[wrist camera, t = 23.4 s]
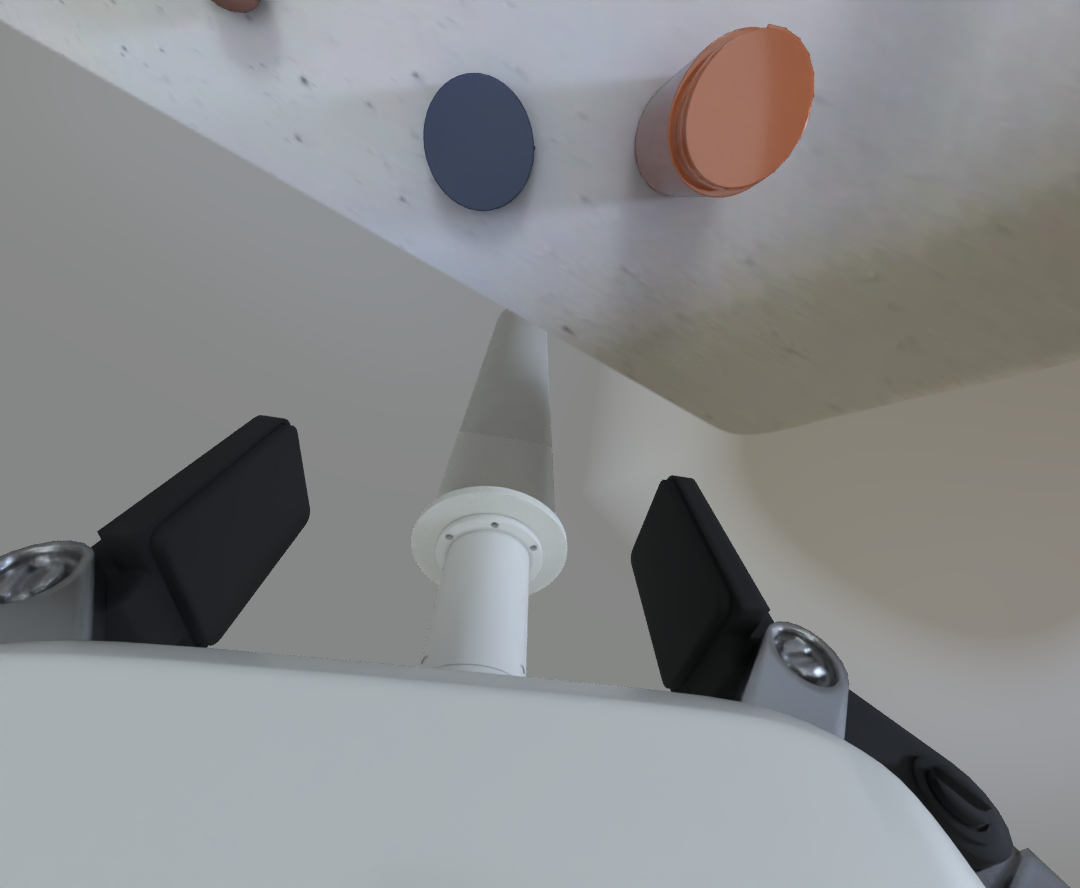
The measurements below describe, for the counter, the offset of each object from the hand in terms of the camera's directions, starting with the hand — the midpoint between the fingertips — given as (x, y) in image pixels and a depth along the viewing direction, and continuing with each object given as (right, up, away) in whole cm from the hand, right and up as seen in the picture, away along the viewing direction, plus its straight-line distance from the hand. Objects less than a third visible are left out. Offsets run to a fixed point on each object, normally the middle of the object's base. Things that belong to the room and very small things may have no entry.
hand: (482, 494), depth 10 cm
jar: (+11, +21, +15) cm, 29 cm away
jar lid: (-2, +20, +15) cm, 25 cm away
